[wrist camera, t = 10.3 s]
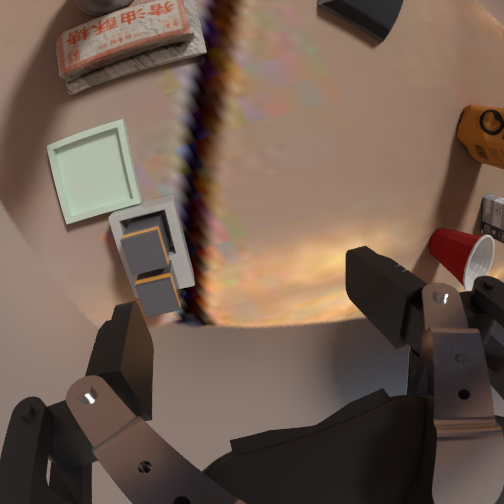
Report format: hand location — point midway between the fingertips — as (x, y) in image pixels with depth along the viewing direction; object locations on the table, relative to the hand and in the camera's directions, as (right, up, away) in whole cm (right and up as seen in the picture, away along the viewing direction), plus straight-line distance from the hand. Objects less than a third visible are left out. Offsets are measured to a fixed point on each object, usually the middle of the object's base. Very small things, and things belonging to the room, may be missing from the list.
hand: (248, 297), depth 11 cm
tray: (-19, +12, +21) cm, 31 cm away
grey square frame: (-13, +3, +27) cm, 30 cm away
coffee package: (+44, +25, +32) cm, 60 cm away
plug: (-13, +4, +25) cm, 28 cm away
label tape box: (+54, +11, +40) cm, 68 cm away
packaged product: (-15, +28, +17) cm, 36 cm away
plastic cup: (+37, +4, +39) cm, 54 cm away
